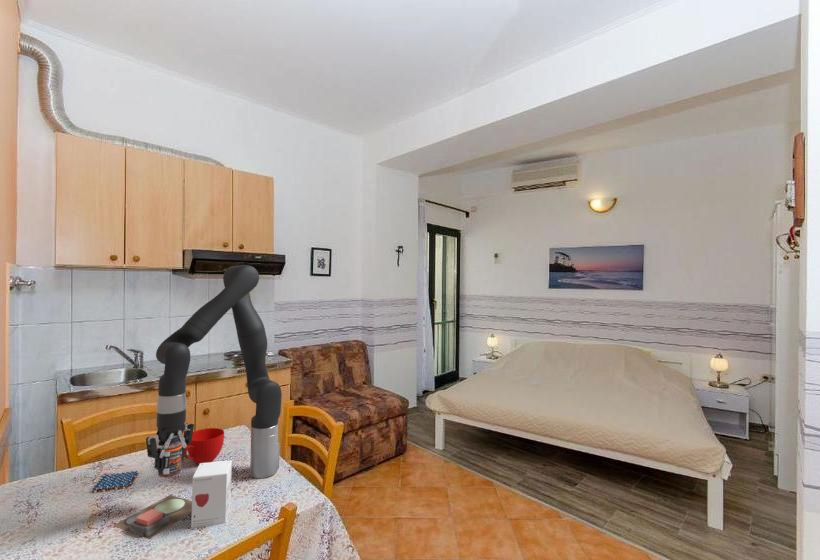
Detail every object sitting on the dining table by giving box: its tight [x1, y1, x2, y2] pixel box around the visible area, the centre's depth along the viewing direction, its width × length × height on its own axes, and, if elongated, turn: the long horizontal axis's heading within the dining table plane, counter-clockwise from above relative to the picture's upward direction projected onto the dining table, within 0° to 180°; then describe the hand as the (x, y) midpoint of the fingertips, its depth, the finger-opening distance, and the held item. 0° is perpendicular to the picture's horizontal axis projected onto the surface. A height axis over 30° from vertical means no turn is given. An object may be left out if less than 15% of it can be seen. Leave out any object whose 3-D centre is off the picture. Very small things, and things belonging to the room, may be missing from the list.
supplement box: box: [190, 459, 233, 529], centre depth 112 cm, size 9×9×15 cm
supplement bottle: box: [157, 435, 183, 478], centre depth 117 cm, size 6×6×11 cm
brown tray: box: [112, 494, 192, 540], centre depth 112 cm, size 17×14×3 cm
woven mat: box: [92, 470, 140, 494], centre depth 131 cm, size 10×11×2 cm
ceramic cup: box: [184, 427, 225, 465], centre depth 147 cm, size 13×17×10 cm
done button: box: [136, 509, 163, 527], centre depth 107 cm, size 4×4×2 cm
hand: (170, 464), depth 117 cm, fingers closed on supplement bottle, 6 cm apart
